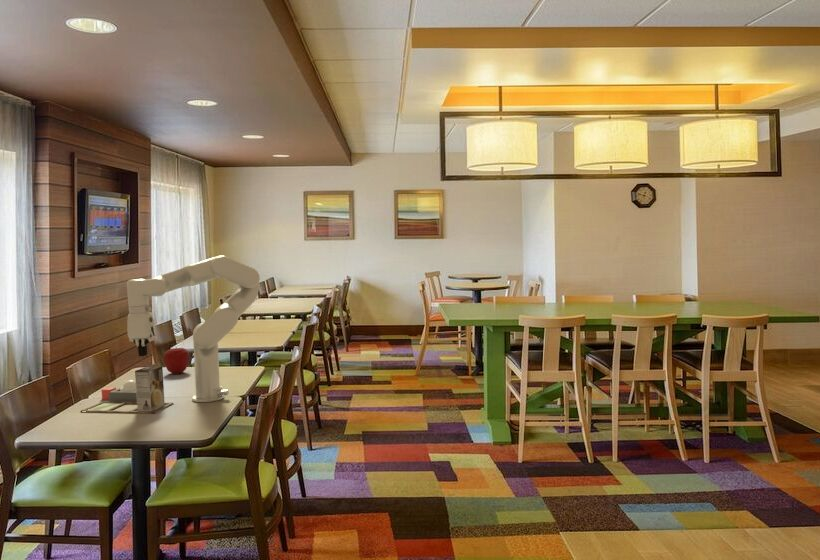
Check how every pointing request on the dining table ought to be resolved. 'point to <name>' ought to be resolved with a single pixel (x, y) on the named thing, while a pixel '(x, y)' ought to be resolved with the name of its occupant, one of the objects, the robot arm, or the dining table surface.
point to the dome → (129, 386)
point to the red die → (107, 392)
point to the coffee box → (149, 388)
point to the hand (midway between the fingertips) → (143, 355)
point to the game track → (113, 405)
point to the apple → (176, 360)
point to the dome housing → (122, 396)
